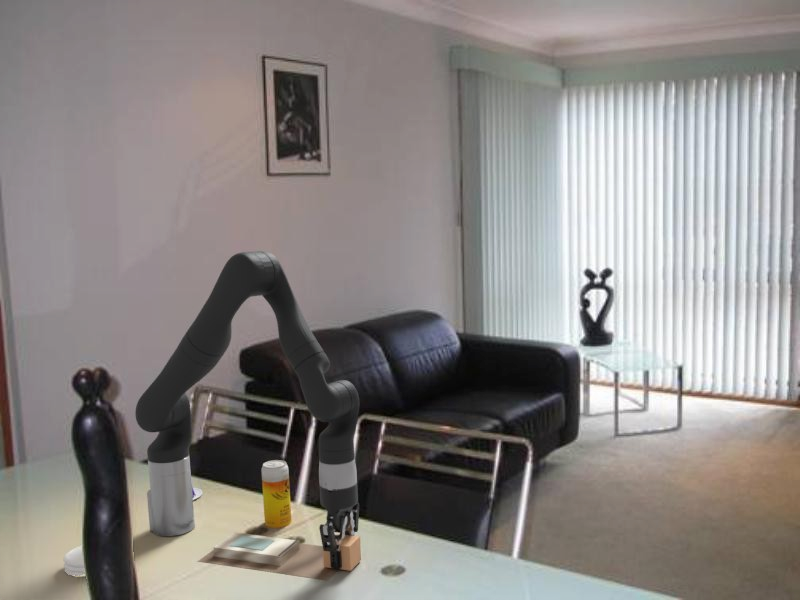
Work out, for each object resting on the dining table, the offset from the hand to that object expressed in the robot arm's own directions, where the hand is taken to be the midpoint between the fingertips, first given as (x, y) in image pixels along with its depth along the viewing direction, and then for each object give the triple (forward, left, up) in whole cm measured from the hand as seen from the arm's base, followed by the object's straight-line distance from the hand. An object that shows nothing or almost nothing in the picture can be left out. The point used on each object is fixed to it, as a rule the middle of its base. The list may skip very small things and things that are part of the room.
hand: (342, 561), depth 169 cm
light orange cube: (0, 0, 0) cm, 0 cm away
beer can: (-24, +16, -2) cm, 29 cm away
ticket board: (-15, 0, -2) cm, 15 cm away
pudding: (-59, +26, -2) cm, 64 cm away
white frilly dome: (-52, -14, -2) cm, 54 cm away
